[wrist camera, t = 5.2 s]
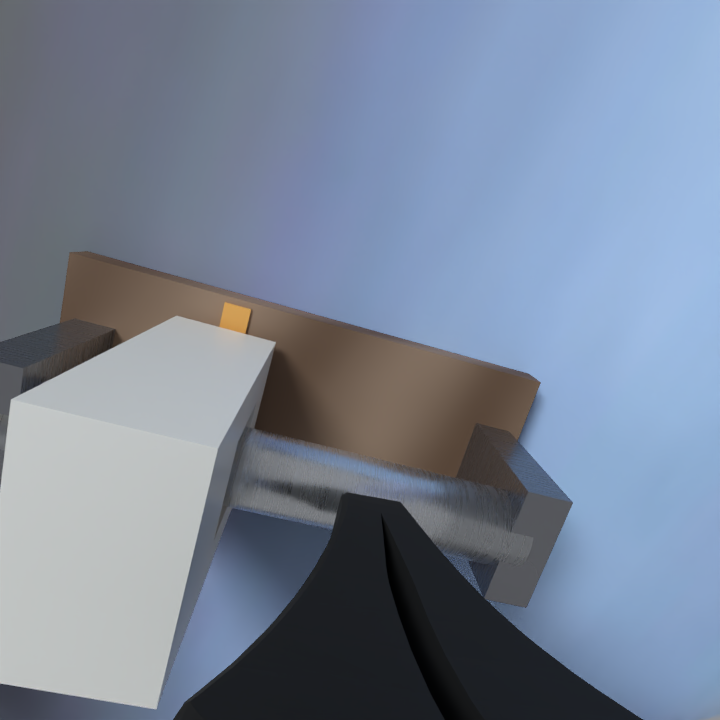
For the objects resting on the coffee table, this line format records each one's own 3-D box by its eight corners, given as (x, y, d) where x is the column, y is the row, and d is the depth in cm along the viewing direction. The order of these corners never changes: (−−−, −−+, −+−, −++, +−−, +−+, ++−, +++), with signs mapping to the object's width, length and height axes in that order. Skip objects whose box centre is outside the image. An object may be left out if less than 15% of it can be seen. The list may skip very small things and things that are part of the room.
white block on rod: (276, 342, 14) (218, 448, 7) (238, 490, 16) (156, 709, 8) (176, 315, 14) (10, 399, 7) (145, 470, 15) (-23, 679, 8)
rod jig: (528, 374, 16) (622, 440, 11) (462, 542, 18) (517, 673, 13) (87, 251, 15) (-57, 260, 9) (57, 451, 16) (-80, 557, 11)
